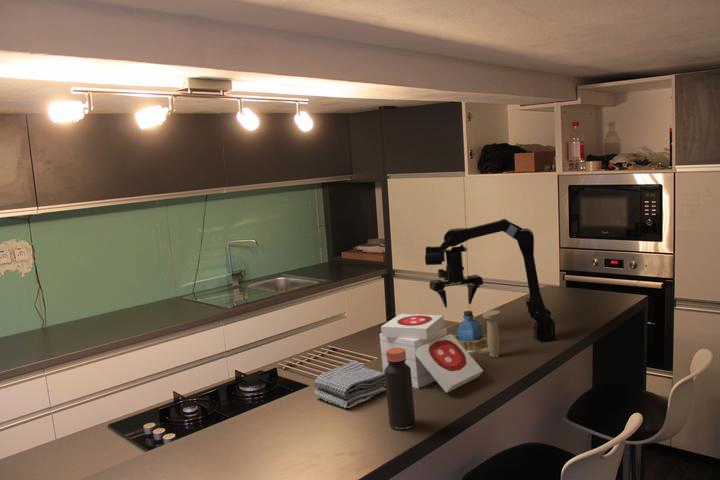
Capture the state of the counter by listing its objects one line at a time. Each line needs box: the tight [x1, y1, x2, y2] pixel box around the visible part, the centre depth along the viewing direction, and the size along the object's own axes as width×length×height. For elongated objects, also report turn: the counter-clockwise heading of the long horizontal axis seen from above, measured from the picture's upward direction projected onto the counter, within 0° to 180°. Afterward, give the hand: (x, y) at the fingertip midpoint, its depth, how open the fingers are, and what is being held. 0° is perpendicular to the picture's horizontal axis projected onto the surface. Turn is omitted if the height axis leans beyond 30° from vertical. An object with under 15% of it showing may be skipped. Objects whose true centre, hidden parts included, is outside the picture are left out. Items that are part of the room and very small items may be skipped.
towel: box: [313, 359, 386, 409], centre depth 180 cm, size 15×18×8 cm
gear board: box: [452, 333, 489, 356], centre depth 212 cm, size 14×14×4 cm
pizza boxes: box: [379, 313, 484, 394], centre depth 185 cm, size 19×30×18 cm, turn 42°
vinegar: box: [384, 348, 416, 428], centre depth 156 cm, size 7×7×20 cm
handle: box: [482, 309, 501, 359], centre depth 200 cm, size 5×6×15 cm
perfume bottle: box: [456, 310, 483, 341], centre depth 211 cm, size 6×6×12 cm
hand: (457, 305), depth 220 cm, fingers open, 9 cm apart
